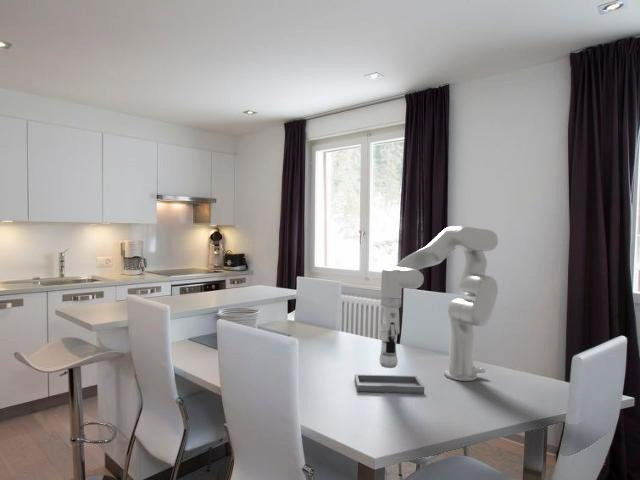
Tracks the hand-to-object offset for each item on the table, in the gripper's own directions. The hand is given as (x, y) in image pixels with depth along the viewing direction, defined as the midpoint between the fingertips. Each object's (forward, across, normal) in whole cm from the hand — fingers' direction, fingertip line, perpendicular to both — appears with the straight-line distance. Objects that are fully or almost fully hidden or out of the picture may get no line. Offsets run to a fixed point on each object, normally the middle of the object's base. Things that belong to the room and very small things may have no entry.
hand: (389, 350), depth 163 cm
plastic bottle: (+7, 0, 0) cm, 7 cm away
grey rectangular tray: (+14, 0, 0) cm, 14 cm away
